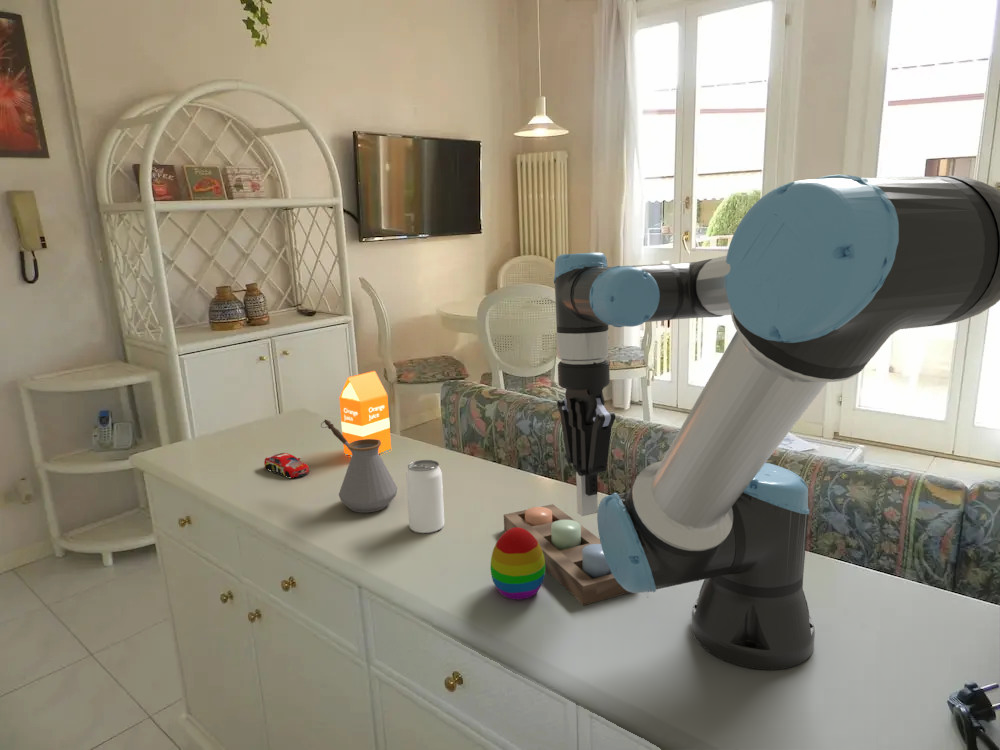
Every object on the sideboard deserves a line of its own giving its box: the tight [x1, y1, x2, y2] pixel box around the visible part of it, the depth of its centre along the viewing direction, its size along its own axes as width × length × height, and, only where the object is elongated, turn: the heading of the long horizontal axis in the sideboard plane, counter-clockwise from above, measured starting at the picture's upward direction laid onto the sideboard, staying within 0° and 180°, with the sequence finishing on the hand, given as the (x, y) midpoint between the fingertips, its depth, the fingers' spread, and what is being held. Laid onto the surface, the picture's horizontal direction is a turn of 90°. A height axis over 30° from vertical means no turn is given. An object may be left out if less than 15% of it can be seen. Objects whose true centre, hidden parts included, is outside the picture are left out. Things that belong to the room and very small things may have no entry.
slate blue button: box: [582, 544, 612, 579], centre depth 103 cm, size 5×5×4 cm
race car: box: [263, 452, 310, 479], centre depth 157 cm, size 13×5×4 cm, turn 48°
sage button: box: [551, 519, 582, 551], centre depth 112 cm, size 5×5×4 cm
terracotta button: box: [525, 506, 552, 527], centre depth 121 cm, size 5×5×4 cm
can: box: [405, 459, 445, 534], centre depth 125 cm, size 6×6×12 cm
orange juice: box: [339, 370, 392, 455], centre depth 167 cm, size 8×9×20 cm
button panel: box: [503, 503, 630, 606], centre depth 112 cm, size 28×10×3 cm, turn 24°
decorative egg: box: [490, 527, 546, 600], centre depth 102 cm, size 8×8×10 cm
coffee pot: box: [320, 419, 398, 513], centre depth 139 cm, size 21×12×15 cm, turn 43°
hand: (587, 512), depth 104 cm, fingers closed
